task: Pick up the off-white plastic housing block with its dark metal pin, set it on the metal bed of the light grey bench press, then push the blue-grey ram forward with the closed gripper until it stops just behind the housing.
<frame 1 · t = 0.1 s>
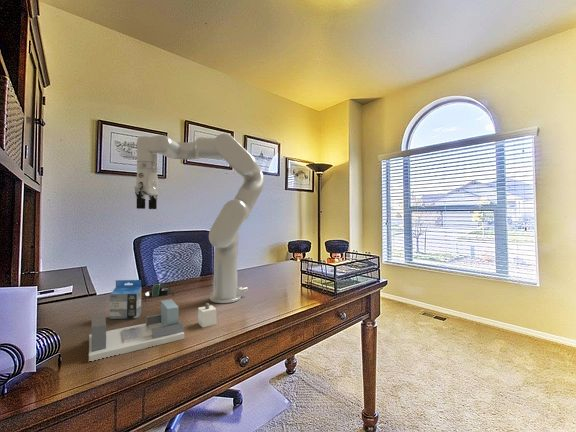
hand: (147, 208, 114), 37 cm above the table, tool pointing down, fingers open, 9 cm apart
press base: (137, 339, 78), on the table
dark green piece: (162, 294, 122), on the table
housing block: (207, 323, 89), on the table
label tape box: (125, 317, 94), on the table
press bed: (138, 323, 78), on the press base, point 4 cm above the table
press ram: (169, 314, 83), point 5 cm above the table, slide at 0.0 cm
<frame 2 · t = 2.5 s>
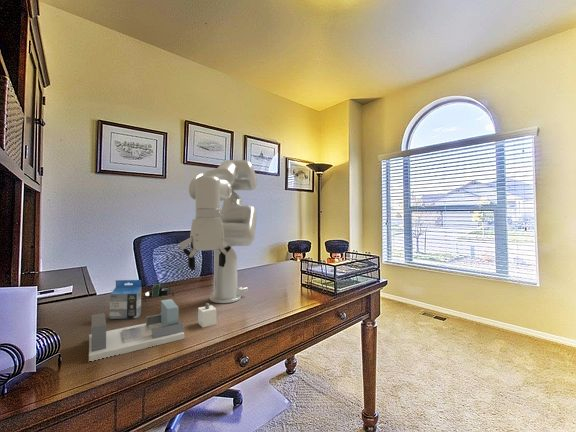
hand: (207, 267, 89), 18 cm above the table, tool pointing down, fingers open, 9 cm apart
nothing on the table moved.
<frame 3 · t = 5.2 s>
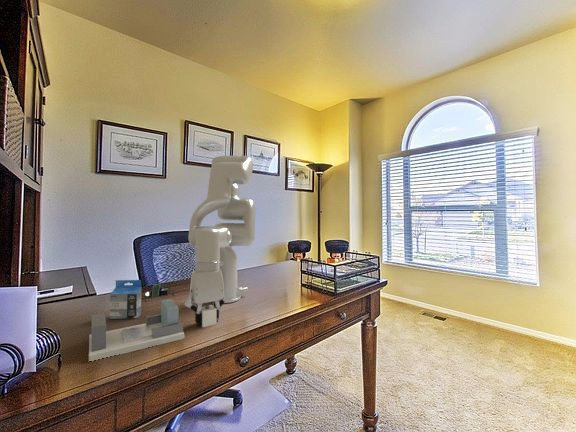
hand: (207, 322, 89), 0 cm above the table, tool pointing down, fingers closed on housing block, 4 cm apart
housing block: (207, 323, 89), on the table, touching gripper
everything else where it was.
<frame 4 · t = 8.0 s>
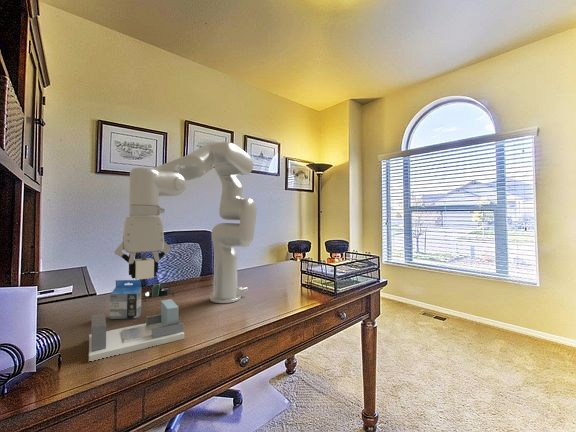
hand: (143, 275, 78), 18 cm above the table, tool pointing down, fingers closed on housing block, 4 cm apart
housing block: (143, 277, 78), point 17 cm above the table, touching gripper
everything else where it was.
when the fingers open (4 cm above the table, at t = 11.1 s): housing block drops 1 cm, resting on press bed.
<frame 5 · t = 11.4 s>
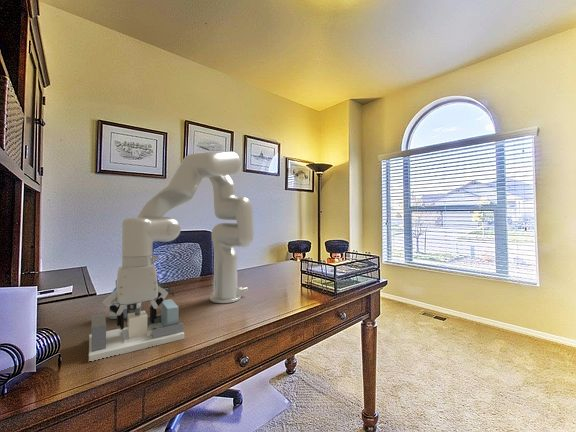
hand: (137, 324, 78), 4 cm above the table, tool pointing down, fingers open, 7 cm apart
housing block: (137, 332, 78), point 2 cm above the table, touching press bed
everything else where it was.
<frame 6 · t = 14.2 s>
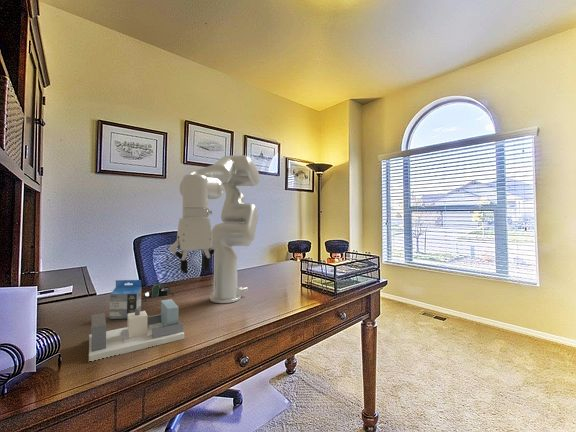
hand: (195, 270, 87), 17 cm above the table, tool pointing down, fingers open, 5 cm apart
nothing on the table moved.
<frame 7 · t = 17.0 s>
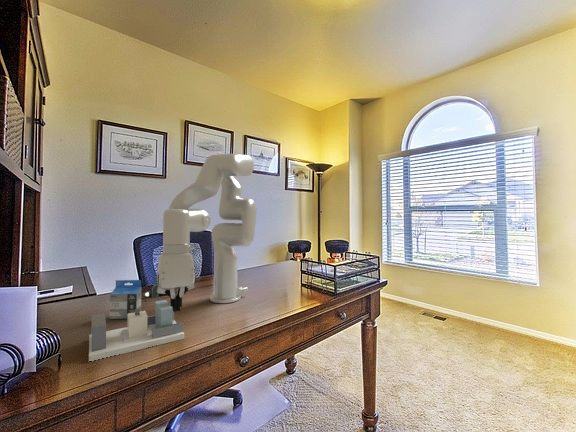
hand: (176, 310, 84), 6 cm above the table, tool pointing down, fingers closed
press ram: (163, 316, 82), point 5 cm above the table, slide at 1.6 cm, touching gripper
everything else where it was.
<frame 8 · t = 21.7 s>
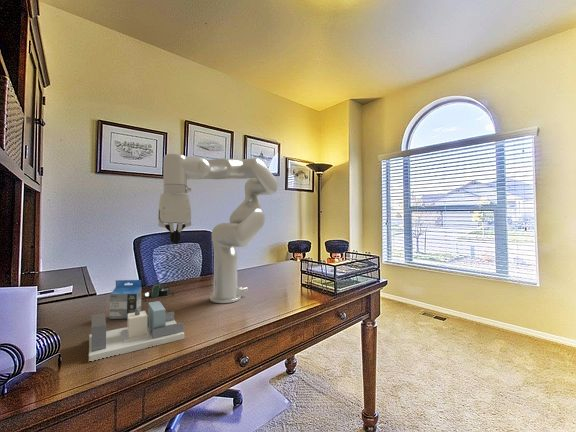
hand: (175, 243, 96), 25 cm above the table, tool pointing down, fingers closed
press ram: (156, 317, 81), point 5 cm above the table, slide at 3.5 cm, touching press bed
everything else where it was.
at the end: housing block 0.2 cm off-centre on the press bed, point 2.0 cm above the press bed's base; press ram slide at 3.5 cm; housing block tilted 0° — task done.
